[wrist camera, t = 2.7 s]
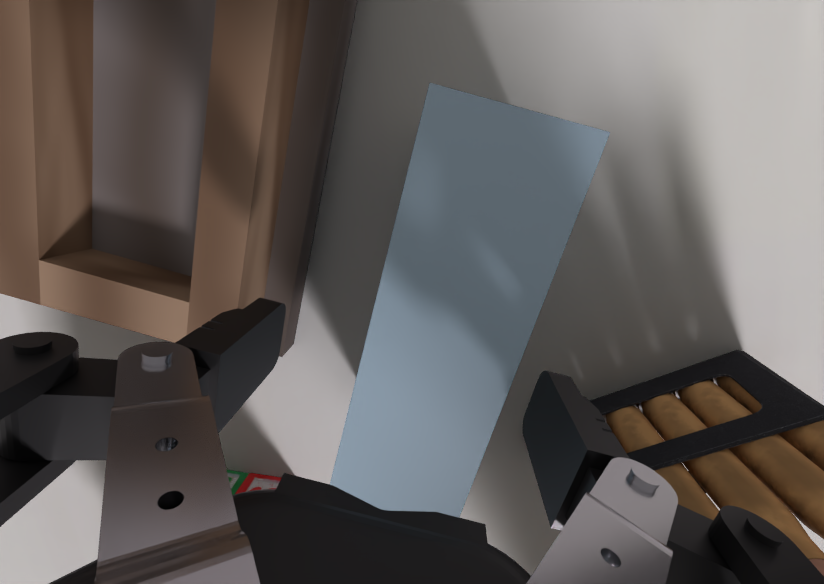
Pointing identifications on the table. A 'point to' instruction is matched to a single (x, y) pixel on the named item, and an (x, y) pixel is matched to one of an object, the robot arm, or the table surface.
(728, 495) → the ammunition clip
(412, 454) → the blue grey rectangular block
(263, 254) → the cradle
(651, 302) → the table surface
